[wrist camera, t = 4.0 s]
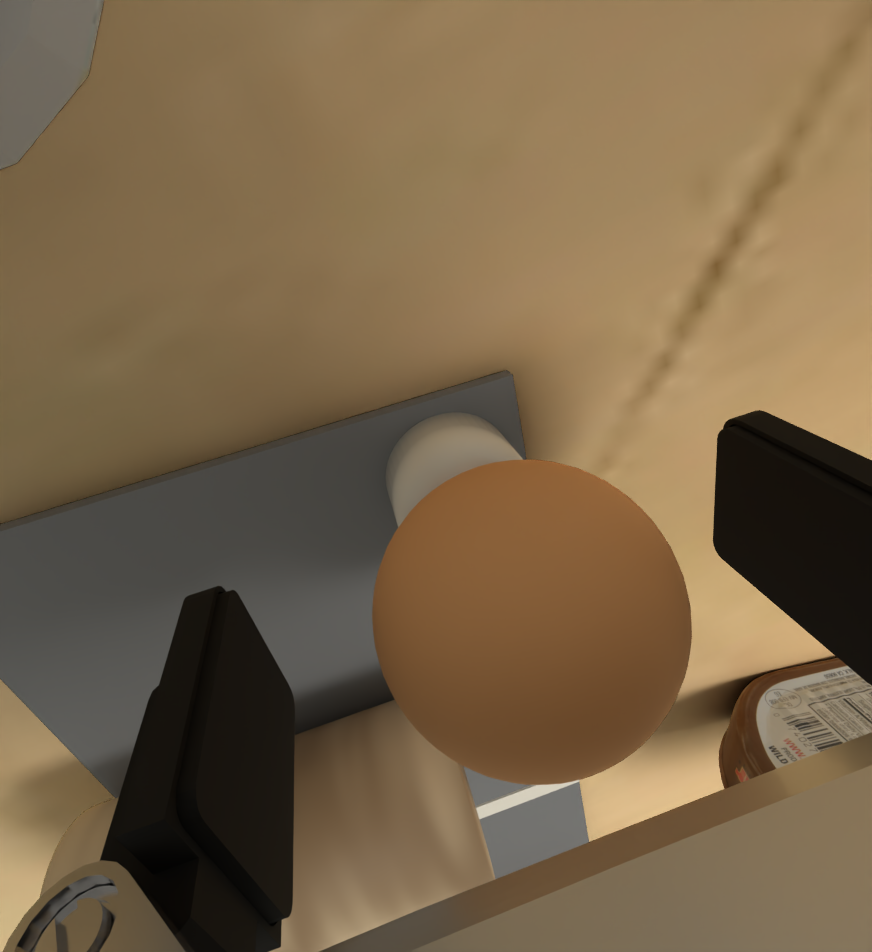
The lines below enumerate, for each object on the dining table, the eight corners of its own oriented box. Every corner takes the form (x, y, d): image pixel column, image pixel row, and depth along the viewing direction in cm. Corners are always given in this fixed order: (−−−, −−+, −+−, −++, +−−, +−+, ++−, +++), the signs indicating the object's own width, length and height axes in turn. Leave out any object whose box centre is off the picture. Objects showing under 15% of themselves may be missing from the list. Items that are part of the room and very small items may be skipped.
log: (86, 767, 15) (-3, 999, 11) (424, 650, 16) (471, 820, 11) (169, 854, 17) (126, 1071, 13) (459, 748, 18) (508, 920, 14)
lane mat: (-97, 554, 12) (-294, 728, 8) (506, 370, 13) (595, 442, 9) (294, 972, 23) (293, 1122, 20) (588, 856, 25) (641, 977, 21)
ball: (322, 462, 10) (341, 681, 5) (581, 381, 10) (797, 523, 6) (396, 651, 12) (449, 906, 8) (600, 580, 12) (761, 784, 8)
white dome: (367, 429, 13) (384, 488, 10) (494, 390, 13) (542, 438, 10) (401, 535, 14) (424, 610, 12) (513, 498, 14) (560, 563, 12)
